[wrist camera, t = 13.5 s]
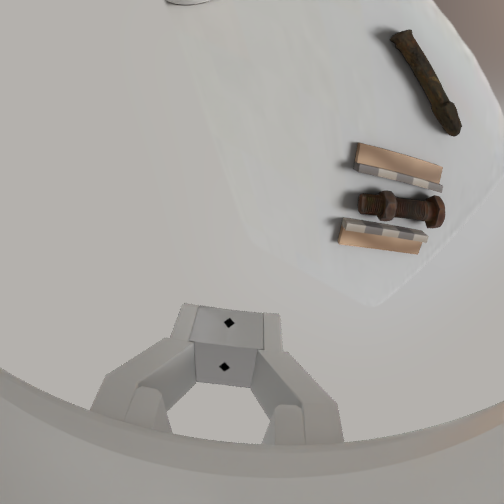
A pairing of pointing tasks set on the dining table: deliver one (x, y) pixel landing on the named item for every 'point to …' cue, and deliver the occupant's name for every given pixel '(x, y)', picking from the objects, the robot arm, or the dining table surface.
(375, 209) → the bolt
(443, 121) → the carved wooden phallus
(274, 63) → the dining table surface
